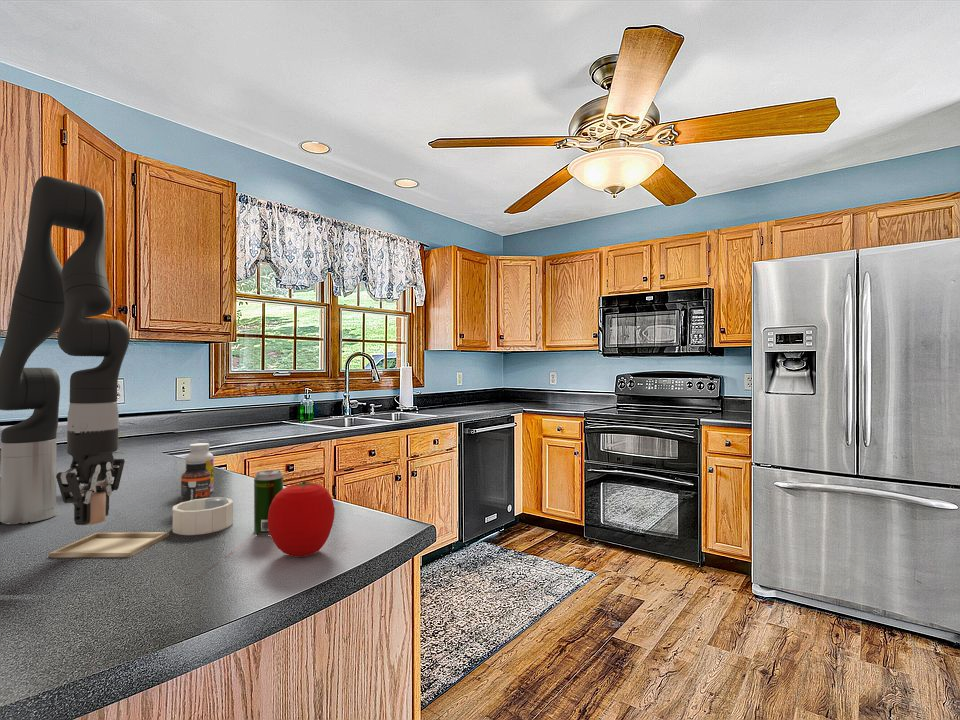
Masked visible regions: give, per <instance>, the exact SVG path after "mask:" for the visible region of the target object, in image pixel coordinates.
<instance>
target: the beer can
mask: <svg viewBox="0 0 960 720" xmlns="http://www.w3.org/2000/svg"><path fill="white" fill-rule="evenodd" d="M253 487H254V488H253V501H254V502H253V515H254V516H253V517H254V518H253V531H254V534H255V535H256V536H258V535H259V536H258V537H269V536H268V535H270V533H269V528H268V513H269V508H270V505H271V503H272V500H273V499H274V497H275V496H276V495H277V494H278V493H279V492H280V491H281V490H282V489H284V475H283V471H282V470H280V469H279V470H278V469H267V470H261V471H257V472H255V476H254V479H253Z"/></svg>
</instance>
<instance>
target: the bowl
mask: <svg viewBox="0 0 960 720" xmlns="http://www.w3.org/2000/svg"><path fill="white" fill-rule="evenodd" d="M226 498H227V504H225V505H223V506H220V507H216V508H212V509H205V500H206V499H209V498H203V499H195V500H190V501H186V502H181V501H180V502H179V503H178V504H175V505H173V506H172V533H174V534H176V535H181V536H196V535H198V536H199V535H205V534H212V533H215V532H220V531H223V530H225V529H227V528H229V527H231V526H232V525H233V524H234V502H233V498H228V497H226Z"/></svg>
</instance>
